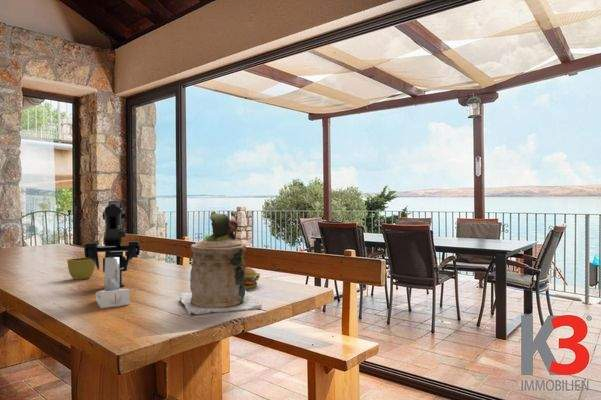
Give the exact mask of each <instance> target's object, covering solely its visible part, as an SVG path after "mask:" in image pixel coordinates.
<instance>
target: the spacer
mask: <svg viewBox="0 0 601 400" xmlns="http://www.w3.org/2000/svg"><path fill="white" fill-rule="evenodd" d="M104 258H105V257H104ZM120 289H121V288H120V257H106V258H105V273H104V290H105V291H114V290H120Z"/></svg>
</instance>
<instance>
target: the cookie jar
mask: <svg viewBox="0 0 601 400" xmlns="http://www.w3.org/2000/svg"><path fill="white" fill-rule="evenodd" d="M209 219H210V220H211V228H212V234H211V235H209V236H207V237H206V238H205V239H204V240H201V241H200V242H198V243H197V242H196V243H193V244H191V245H190V249H191V251H192V259H191V260H192V261H191V269H190V278H189V282H190V285H189V287H190V288H189V289H190V292H181V293H179V299H180V302H181V303H182V305H184V307H185V309H186V311H187V313H188V315H189V316H190V315H191V314H195V315H204V314H209V313H228V312H229V313H230V312H236V311H237V312H238V311H249V310H250V311H251V310H258V309H261V308H262V307H263V303H262V301H261V300H259V299H257V298H256V297H255V296H253V295H252V294H250V293H249V292H247V289H245V288H244V285H243V278H244V275H245V270H246V267H247V265H246V263H247V256H246V254H245V253H246V250H247V246H246V244H245V243H242V242H241V241H239V239H237V238H236V234H234V232H237V231H238V227H239V223H238V221H237V220H234V219H230V217H229V216H228V214H226V213H217V212H215V211H211V212H210V217H209Z"/></svg>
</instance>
